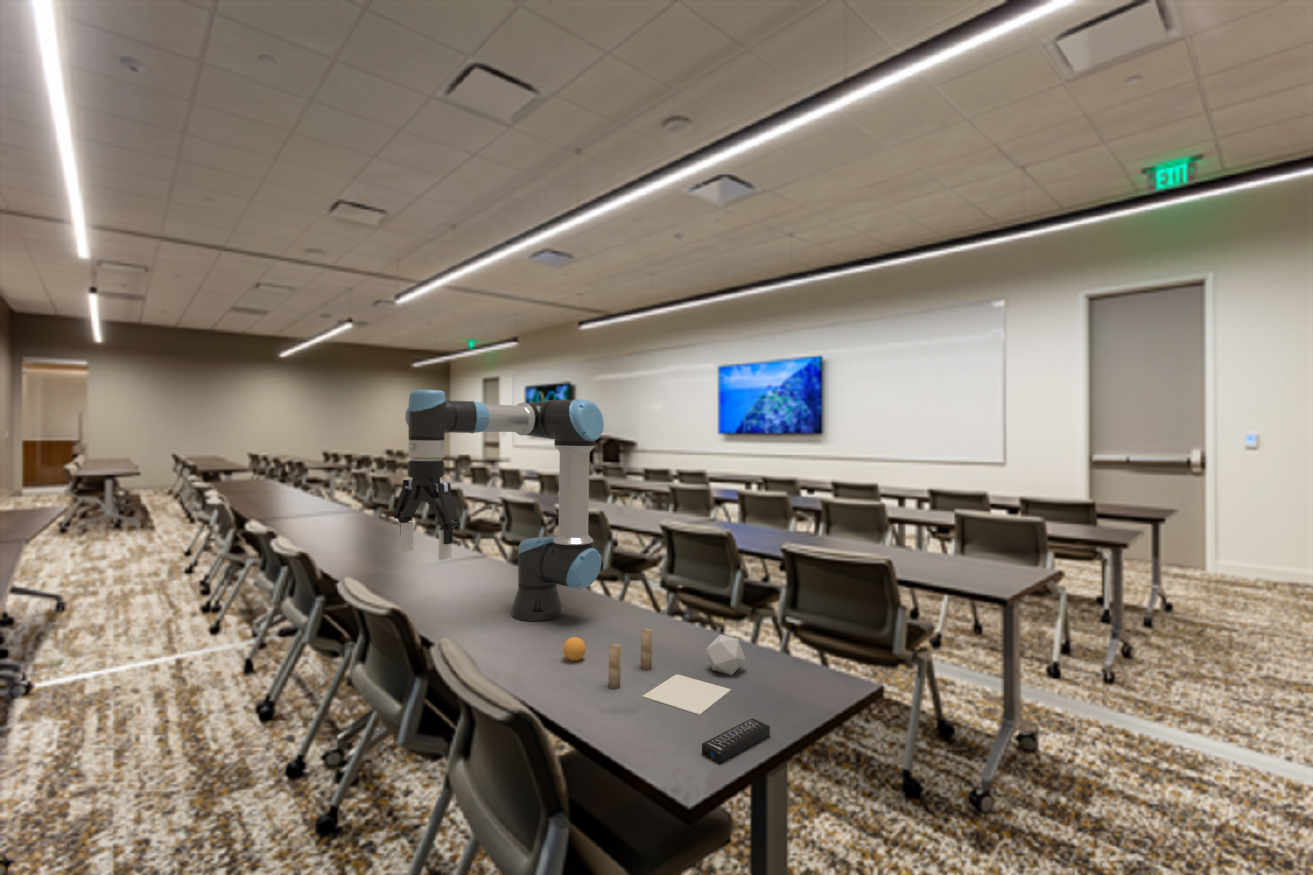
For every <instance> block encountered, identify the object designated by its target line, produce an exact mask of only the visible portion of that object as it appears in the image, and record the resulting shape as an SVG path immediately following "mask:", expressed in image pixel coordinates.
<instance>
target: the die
mask: <svg viewBox="0 0 1313 875" xmlns="http://www.w3.org/2000/svg"><path fill="white" fill-rule="evenodd" d="M705 652H706V655H707V656H708V660H709V664H710V665H711V668H712V669H711V670H712V671H715V672H719V673H722V674H726V675H729V676H733V674H735V672H736V671H737V670H738V669H739V668H741V667H740V666H742V665H743V663H745V661H746V660H747V659H746V656H745V654H744V651H743V648H742V645H741V643H740V640H739V638H735V637H732V636H728V635H723V634H719V635H718V636H717V637H716V638H715V639H714V640H713V641H712V642H711V643H710V644H709V645H708V646H707V648H705Z"/></svg>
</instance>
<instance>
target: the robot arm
mask: <svg viewBox="0 0 1313 875" xmlns="http://www.w3.org/2000/svg"><path fill="white" fill-rule="evenodd" d="M404 419H405V423H406V424H407V425H408V458H409V459H410V460H408V462H407V476H408V477H409V479H408V478H407V479H403V480H402V486H401V492H400V495H399V498H398V501H397V503H396V506H395V510H394V513H393V519H395V520H396V519H397V520H398V522H399V524H400V525H399V527H400V528H399V535H400V553H403V552H409V551H413V550H414V519H413V517H414V515H415V513H416V512H417V510H418V508H419V507H420V504H421V503H422V502H423V503H427V504H428V505H430V506H431V508H432V511H433V513H434V515H435V517H436V519H437V522H438V523H439V525H440V527H439V529H438V560H439V561H444V560H447V559H451V558H452V549H453V548H452V546H453V534H454V533H453V532H454V531H453V529H454V528H456V527H460V525H461V521H460V519H459V518H460V517H459V515H458V511H457V508H456V505H455V501H454V498H453V494H452V487H451V482H441V478H443V477H444V475H445V461H444V460H442V459H444V458H445V456H446V455H445V451H446V450H445V446H446V445H445V436H446V433H447V434H448V433H452V434H454V433H456V434H458V433H459V434H467V433H469V434H476V433H481V432H482V433H515V434H517V435H519V436H528V437H537V438H541V439H542V438H544V439H549V440H554V443H553V445H554V447H555V448H556V449H557V450H558V452H559V468H558V469H559V473H558V474H559V475H558V478H559V479H558V480H559V481H558V483H559V484H558V531H557V532H558V534H557V536H554V535H553V536H552V535H550V536H548V535H547V536H539V537H531V538H527V539H526V538H525V539H522V541H520V543H519V544H518V553H517V562H518V565H517V569H518V570H517V574H518V575H517V577H518V581H517V582H518V583H517V584H518V586H517V592H516V595H515V598H514V603H513V604H512V606H511V607H512V608H511V616H512V617H513V618H514V619H516V620H519V621H525V622H541V621H544V622H545V621H550V620H554V619H557V618H559V617H561V616H562V615H563V613H564V611H563V607H564V604H563V603H562V602H561V601H562V600H561V597H560V593H559V590H558V585H559V586H564V587H567V588H570V589H579V590H580V589H586V588H589V587H590V586H591V585H592V584H593V583H594V582H595V581H596V579H597V578H598V576H599V574H600V572H601V568H602V556H601V553H600V552H599V551H598V550H597V549H596V548H594V538H592V537H591V536H590V535H589V509H590V508H589V507H590V506H589V503H590V502H589V500H590V496H589V495H590V493H589V492H590V453H591V451H592V450H593V449H594V448H595V447H596V441H597V440H598V439H600V438H601V436H602V433H603V431H604V427H605V425H604V424H605V421H604V417H603V414H602V411H601V409H600V408H598V406H597V404H596V403H595V402H593V401H591V400H587V399H579V398H577V399H550V400H549V399H548V400H542V401H534V402H520V403H517V404H515V405H510V404H509V405H508V404H489V403H483V402H481V401H480V402H479V401H475V400H450V399H449V400H448V399H447V398H446V394H445V392H444V391H443V390H439V389H413V390H411V391H410V393H409V398H408V406H407V408H406V411H405V418H404Z"/></svg>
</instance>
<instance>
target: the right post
mask: <svg viewBox="0 0 1313 875" xmlns="http://www.w3.org/2000/svg"><path fill="white" fill-rule="evenodd" d="M640 632H641V633H640V669H641V670H643V671H649V670H652V664H653V662H652V660H653V658H652V656H653V653H652V652H653V629H652V628H642V629H641V631H640Z"/></svg>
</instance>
